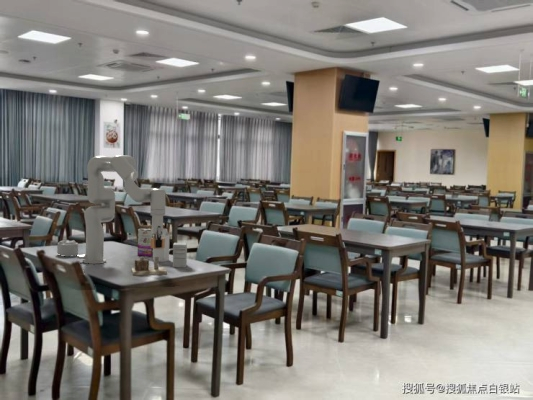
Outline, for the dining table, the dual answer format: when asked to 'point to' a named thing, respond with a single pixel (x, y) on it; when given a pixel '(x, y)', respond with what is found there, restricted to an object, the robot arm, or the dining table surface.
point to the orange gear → (154, 243)
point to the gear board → (147, 267)
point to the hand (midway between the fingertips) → (157, 246)
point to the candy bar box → (145, 242)
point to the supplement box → (179, 254)
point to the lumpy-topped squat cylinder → (67, 248)
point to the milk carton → (163, 252)
